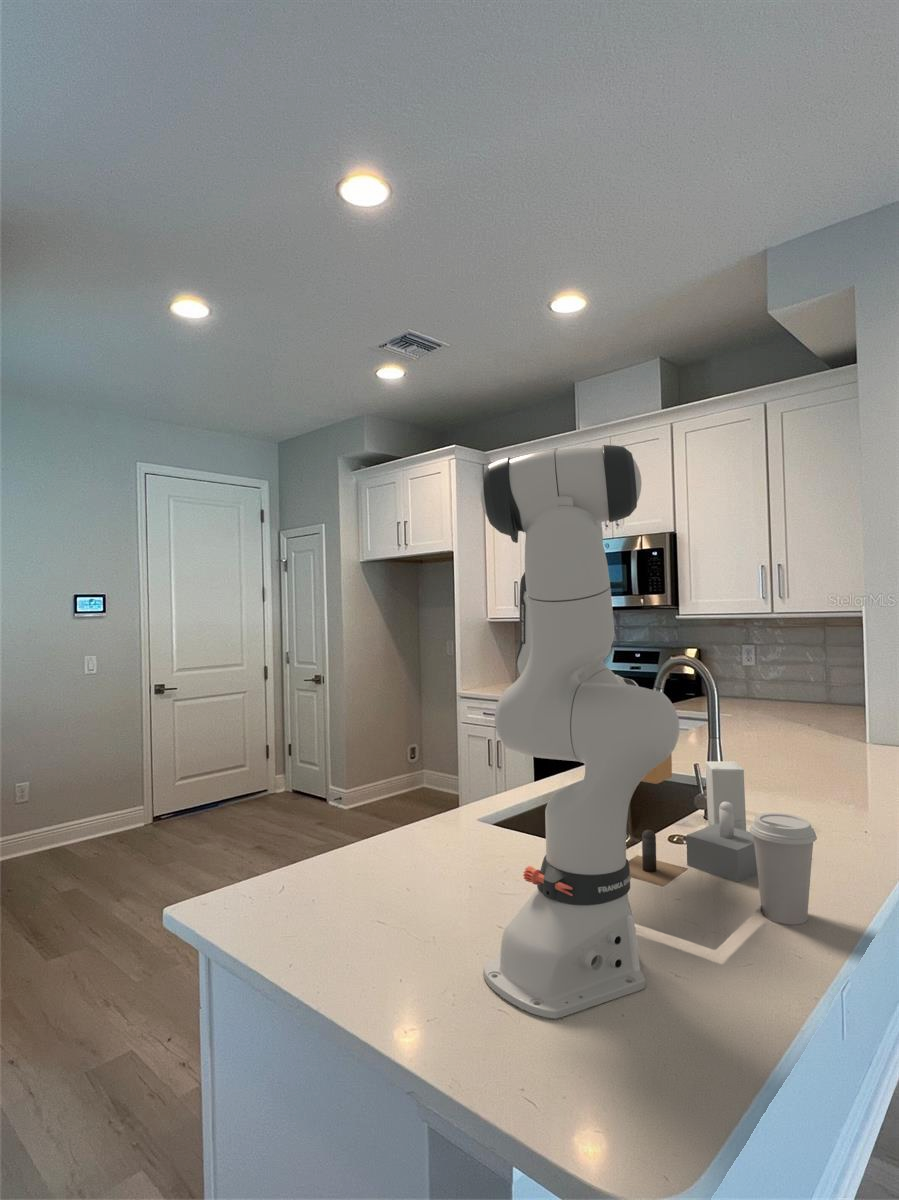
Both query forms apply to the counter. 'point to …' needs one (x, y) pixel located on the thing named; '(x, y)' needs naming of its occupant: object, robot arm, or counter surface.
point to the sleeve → (660, 772)
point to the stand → (652, 863)
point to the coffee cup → (783, 865)
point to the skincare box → (725, 791)
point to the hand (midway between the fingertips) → (651, 755)
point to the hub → (723, 848)
